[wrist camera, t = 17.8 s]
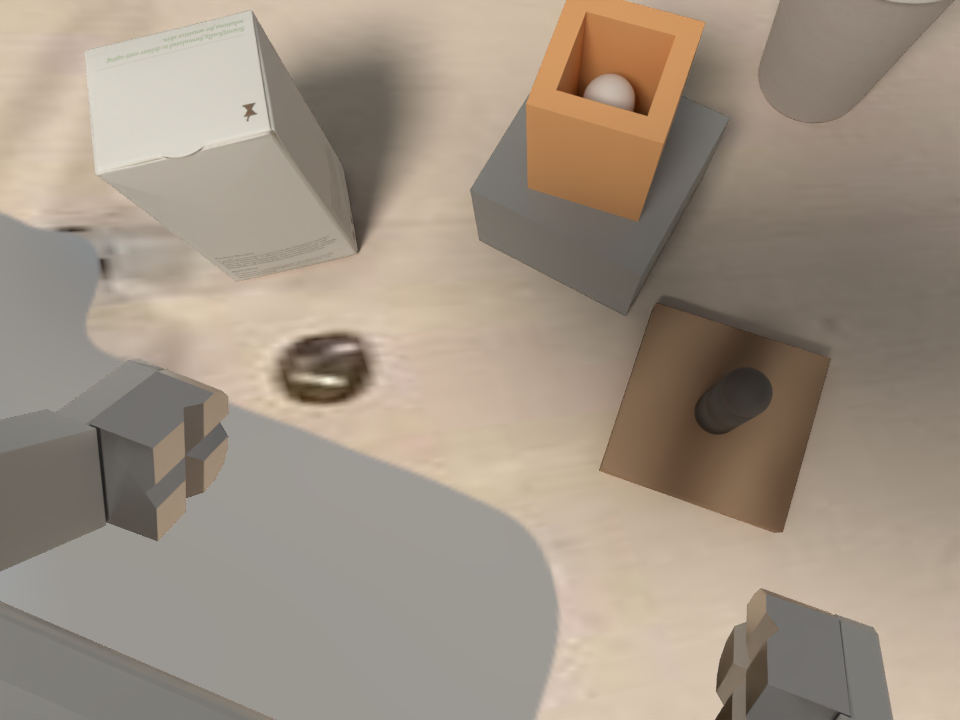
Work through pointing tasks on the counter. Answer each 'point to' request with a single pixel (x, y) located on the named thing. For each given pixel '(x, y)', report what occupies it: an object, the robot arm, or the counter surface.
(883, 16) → the coffee cup
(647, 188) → the sleeve
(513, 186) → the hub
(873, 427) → the counter surface
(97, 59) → the skincare box
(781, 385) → the stand
